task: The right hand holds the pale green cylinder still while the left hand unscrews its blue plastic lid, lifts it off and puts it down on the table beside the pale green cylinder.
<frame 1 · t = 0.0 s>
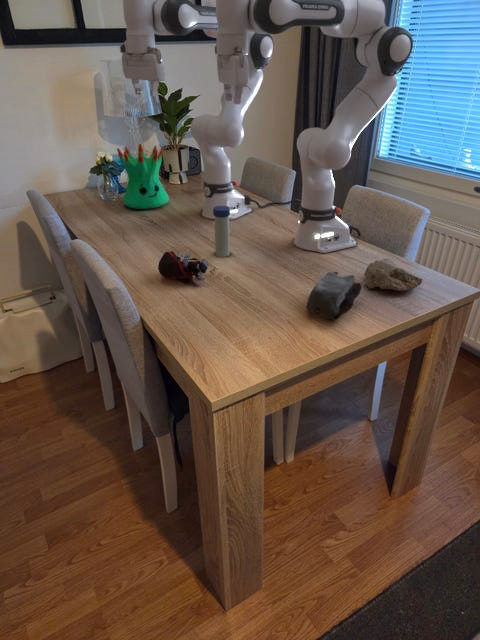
left hand: (146, 95, 149), 48 cm above the table, tool pointing down, fingers open, 8 cm apart
right hand: (232, 102, 131), 48 cm above the table, tool pointing down, fingers open, 8 cm apart
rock: (333, 307, 124), on the table
artifact: (386, 283, 137), on the table
toy: (182, 281, 138), on the table
toy 2: (146, 204, 204), on the table
pale green cylinder: (222, 254, 156), on the table
lid: (221, 209, 147), point 16 cm above the table, screwed on, not yet turned
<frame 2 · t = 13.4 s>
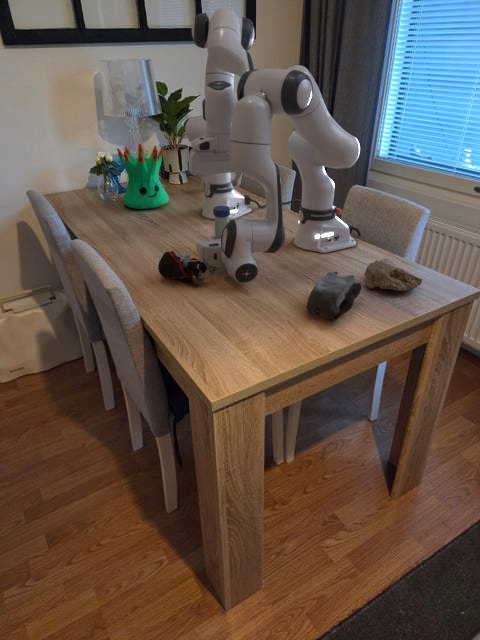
left hand: (221, 187, 143), 23 cm above the table, tool pointing down, fingers open, 8 cm apart
right hand: (221, 237, 153), 6 cm above the table, tool horizontal, fingers closed on pale green cylinder, 5 cm apart
pale green cylinder: (222, 254, 156), on the table, touching right hand
everything else where it was.
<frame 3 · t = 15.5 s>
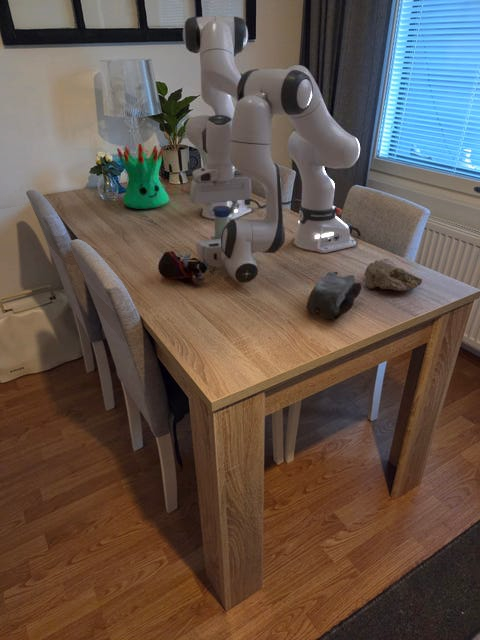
left hand: (221, 214, 148), 14 cm above the table, tool pointing down, fingers closed on lid, 5 cm apart
right hand: (221, 237, 153), 6 cm above the table, tool horizontal, fingers closed on pale green cylinder, 5 cm apart
pale green cylinder: (222, 254, 156), on the table, touching right hand
lid: (221, 209, 147), point 16 cm above the table, screwed on, not yet turned, touching left hand
everything else where it was.
when the left hand's fingers open (15 cm above the table, at t = 16.8 s): lid stays where it is, point 16 cm above the table.
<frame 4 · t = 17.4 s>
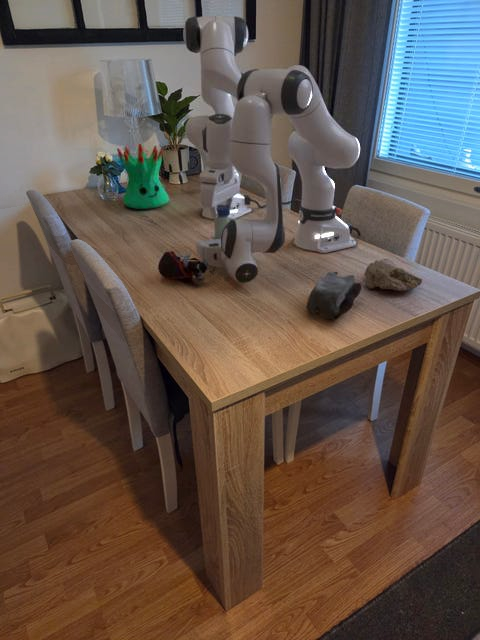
left hand: (221, 213, 148), 15 cm above the table, tool pointing down, fingers open, 8 cm apart
right hand: (221, 237, 153), 6 cm above the table, tool horizontal, fingers closed on pale green cylinder, 5 cm apart
pale green cylinder: (222, 254, 156), on the table, touching right hand
lid: (221, 208, 147), point 16 cm above the table, turned 89° so far, risen 0.3 cm, still on its thread
everything else where it was.
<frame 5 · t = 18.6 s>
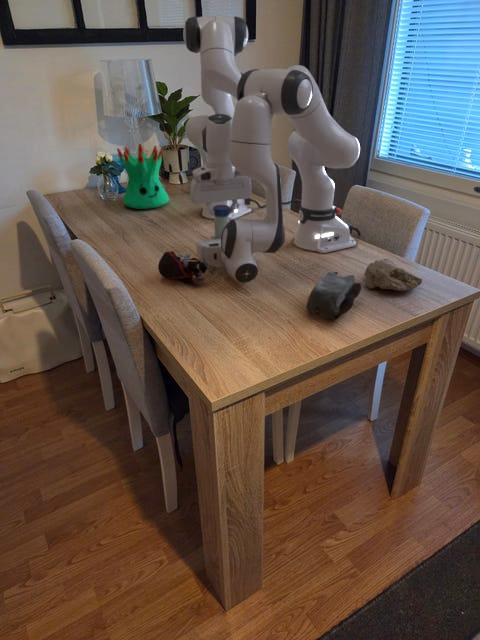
left hand: (221, 213, 148), 15 cm above the table, tool pointing down, fingers closed on lid, 5 cm apart
right hand: (221, 237, 153), 6 cm above the table, tool horizontal, fingers closed on pale green cylinder, 5 cm apart
pale green cylinder: (222, 254, 156), on the table, touching right hand
lid: (221, 208, 147), point 16 cm above the table, turned 89° so far, risen 0.3 cm, still on its thread, touching left hand
everything else where it was.
when the left hand's fingers open (2 cm above the table, at t = 26.2 s): lid drops 2 cm, point 2 cm above the table.
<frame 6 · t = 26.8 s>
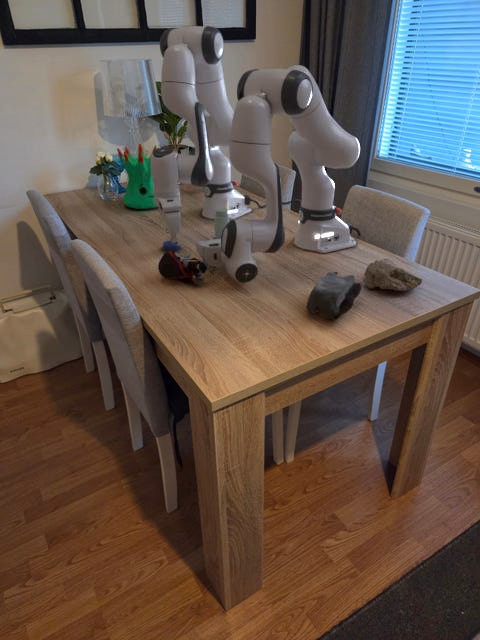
left hand: (170, 237, 159), 4 cm above the table, tool pointing down, fingers open, 8 cm apart
right hand: (221, 237, 153), 6 cm above the table, tool horizontal, fingers closed on pale green cylinder, 5 cm apart
pale green cylinder: (222, 254, 156), on the table, touching right hand
lid: (170, 244, 159), point 2 cm above the table, off its thread
everything else where it was.
when the right hand's fingers open (6 cm above the table, at t = 27.2 s): pale green cylinder stays where it is, on the table.
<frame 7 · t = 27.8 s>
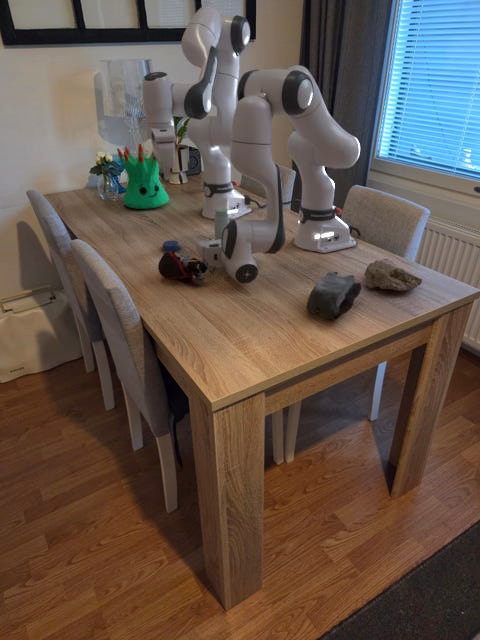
left hand: (164, 176, 147), 25 cm above the table, tool pointing down, fingers open, 8 cm apart
right hand: (221, 238, 153), 6 cm above the table, tool horizontal, fingers open, 8 cm apart
pale green cylinder: (222, 254, 156), on the table
everything else where it was.
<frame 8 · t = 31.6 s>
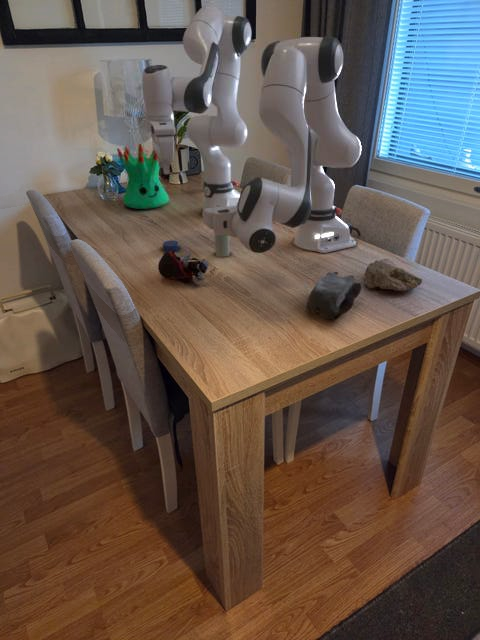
left hand: (164, 170, 146), 27 cm above the table, tool pointing down, fingers open, 8 cm apart
right hand: (231, 206, 135), 21 cm above the table, tool horizontal, fingers open, 8 cm apart
nothing on the table moved.
at the end: lid came off its thread; lid point 1.8 cm above the table; the left hand is holding nothing; the right hand is holding nothing; pale green cylinder tilted 0°; pale green cylinder moved 0.0 cm from its start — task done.
